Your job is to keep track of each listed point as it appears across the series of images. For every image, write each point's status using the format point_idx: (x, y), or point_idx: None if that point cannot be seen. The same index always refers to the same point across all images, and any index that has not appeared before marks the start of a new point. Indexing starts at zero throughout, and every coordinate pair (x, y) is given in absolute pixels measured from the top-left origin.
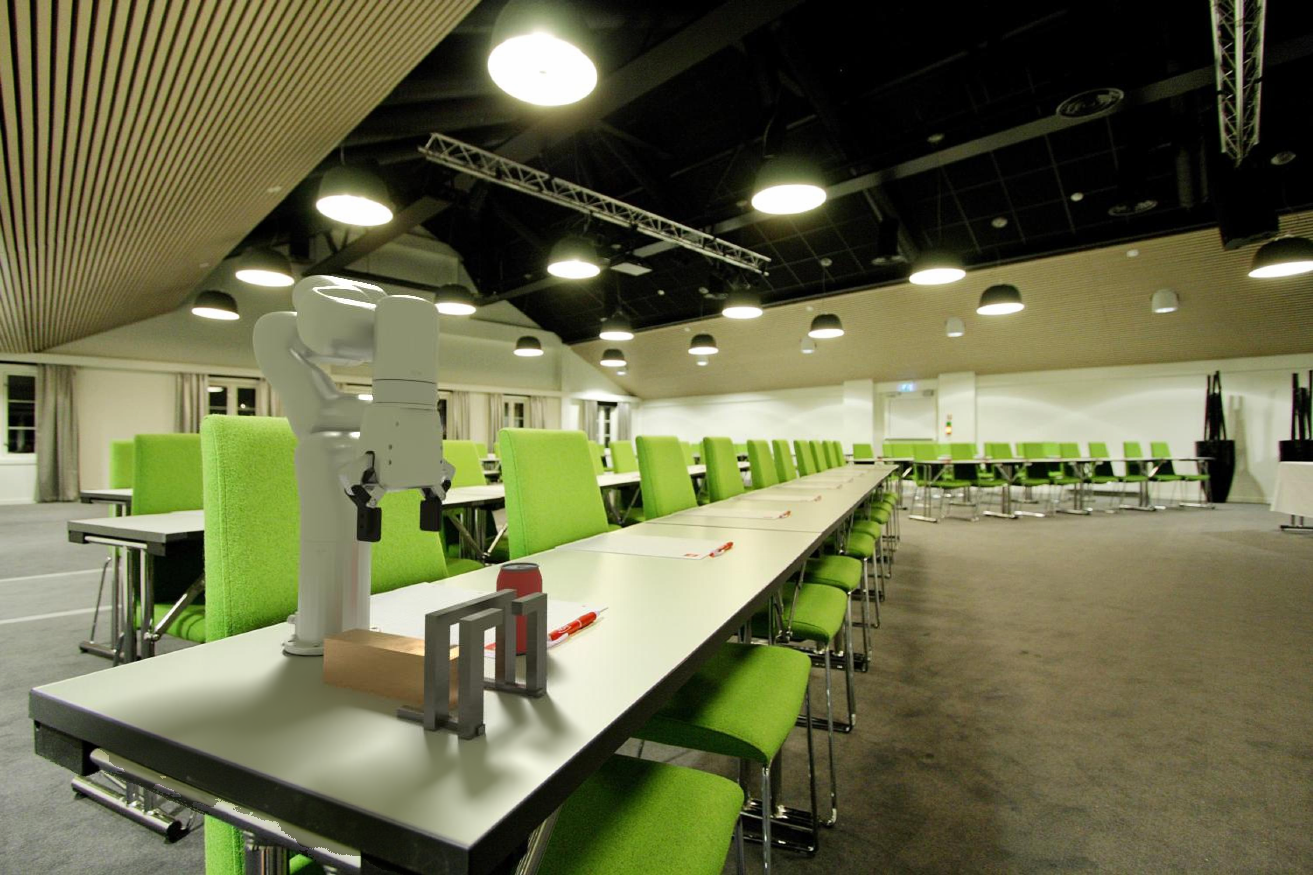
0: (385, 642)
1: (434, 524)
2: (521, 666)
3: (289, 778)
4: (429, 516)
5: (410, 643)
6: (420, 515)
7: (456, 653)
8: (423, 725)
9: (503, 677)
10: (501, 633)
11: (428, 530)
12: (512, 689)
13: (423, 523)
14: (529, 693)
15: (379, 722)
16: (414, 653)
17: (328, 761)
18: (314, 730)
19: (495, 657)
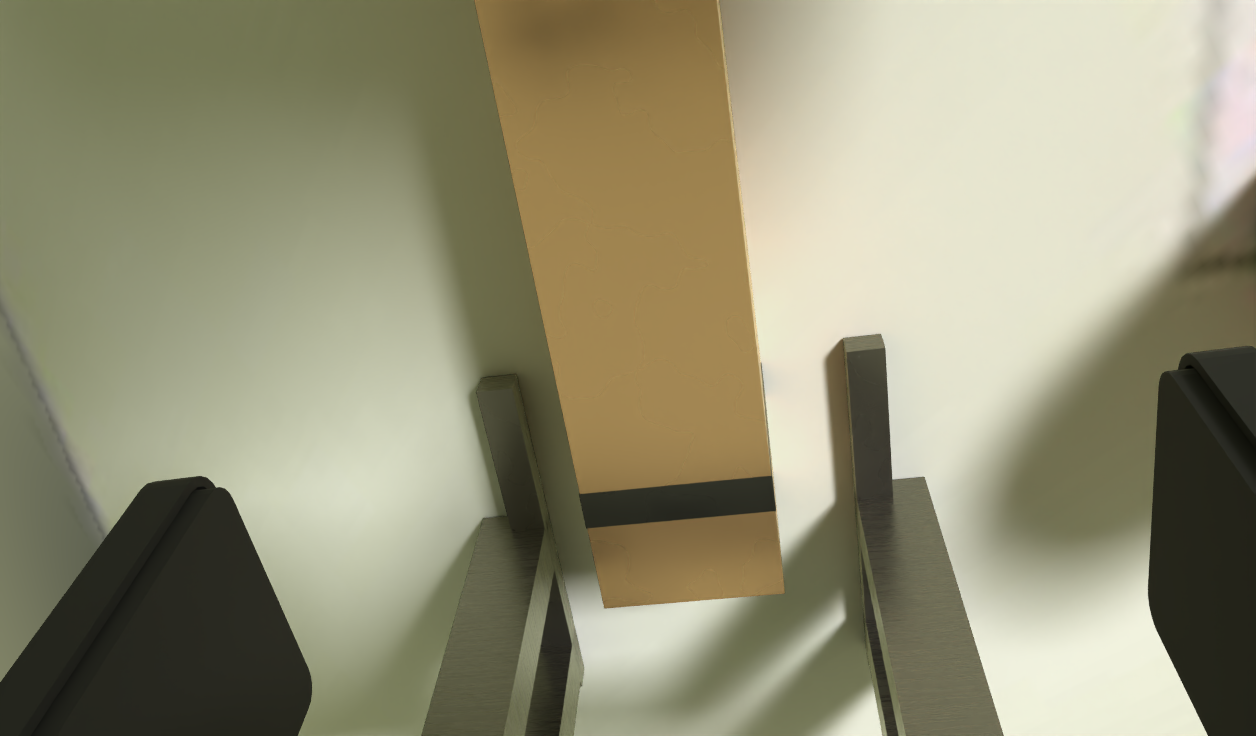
0: (593, 158)
1: (1175, 643)
2: (1136, 397)
3: (83, 460)
4: (1229, 646)
5: (663, 286)
6: (1249, 497)
7: (684, 571)
8: (481, 524)
9: (863, 552)
10: (888, 675)
11: (1153, 499)
12: (860, 563)
13: (1196, 473)
14: (864, 624)
15: (416, 366)
16: (575, 429)
17: (191, 463)
18: (230, 234)
19: (872, 567)
